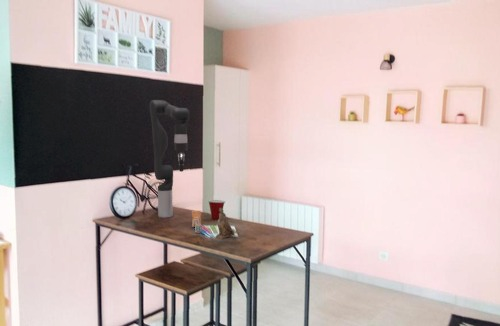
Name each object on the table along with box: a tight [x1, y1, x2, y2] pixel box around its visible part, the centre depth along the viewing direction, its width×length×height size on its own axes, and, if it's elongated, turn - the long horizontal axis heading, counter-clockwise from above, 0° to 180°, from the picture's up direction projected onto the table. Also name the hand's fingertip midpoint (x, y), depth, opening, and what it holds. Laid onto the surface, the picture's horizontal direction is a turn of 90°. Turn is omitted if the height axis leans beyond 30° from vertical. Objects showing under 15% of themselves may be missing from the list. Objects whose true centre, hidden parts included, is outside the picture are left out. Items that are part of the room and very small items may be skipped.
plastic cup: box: [208, 199, 226, 221], centre depth 269 cm, size 11×11×12 cm
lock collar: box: [191, 210, 202, 228], centre depth 248 cm, size 3×5×9 cm, turn 101°
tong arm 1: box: [193, 219, 199, 234], centre depth 244 cm, size 18×1×4 cm, turn 11°
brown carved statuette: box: [215, 208, 235, 240], centre depth 227 cm, size 12×6×18 cm, turn 142°
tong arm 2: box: [196, 219, 202, 234], centre depth 244 cm, size 18×1×4 cm, turn 11°
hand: (181, 171), depth 252 cm, fingers closed
